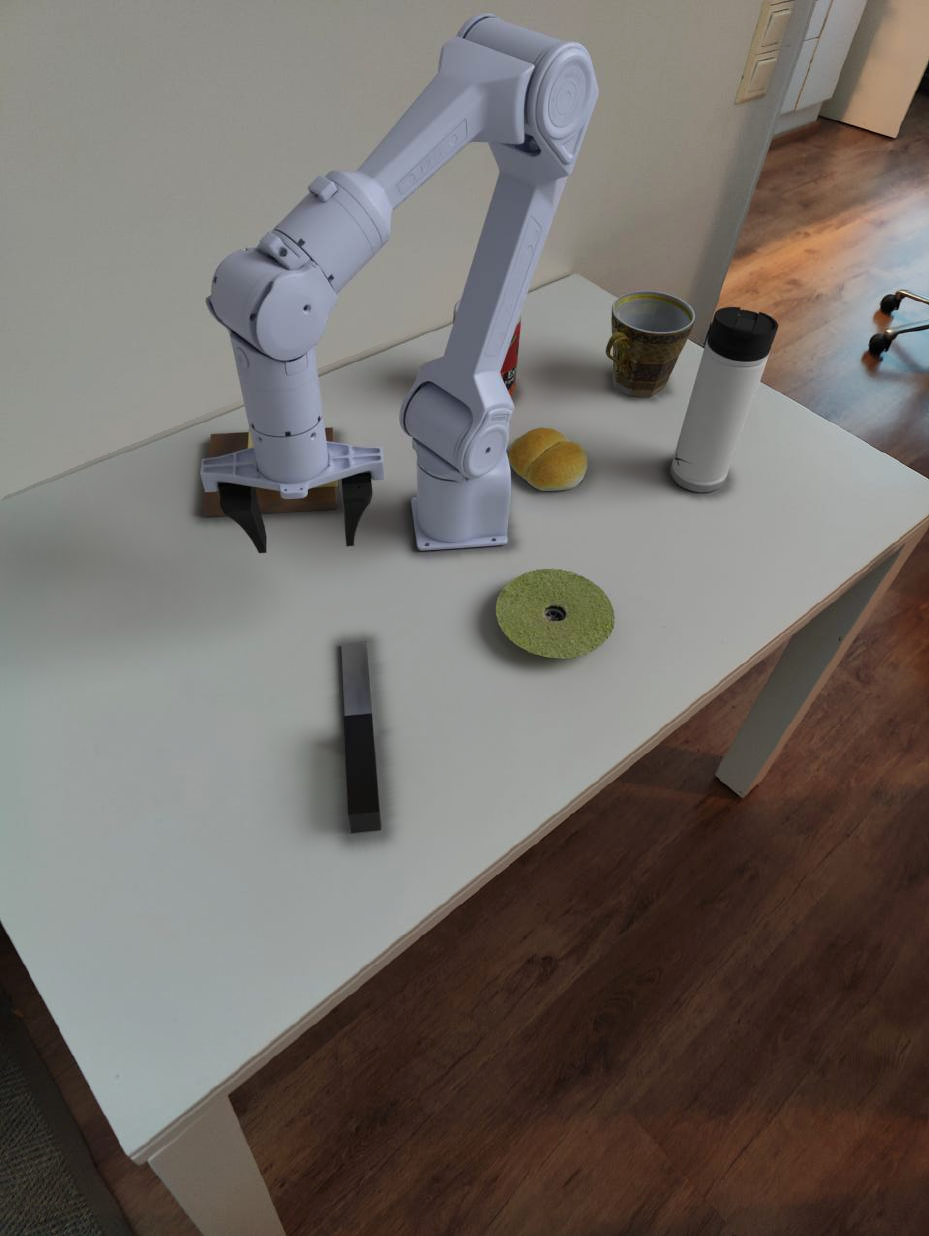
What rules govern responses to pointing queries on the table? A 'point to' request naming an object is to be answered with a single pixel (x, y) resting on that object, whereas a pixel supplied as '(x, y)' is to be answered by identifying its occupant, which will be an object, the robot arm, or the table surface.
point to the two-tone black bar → (359, 740)
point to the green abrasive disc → (555, 613)
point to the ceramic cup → (647, 340)
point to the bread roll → (548, 460)
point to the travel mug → (722, 397)
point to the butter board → (266, 497)
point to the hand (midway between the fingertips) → (306, 541)
